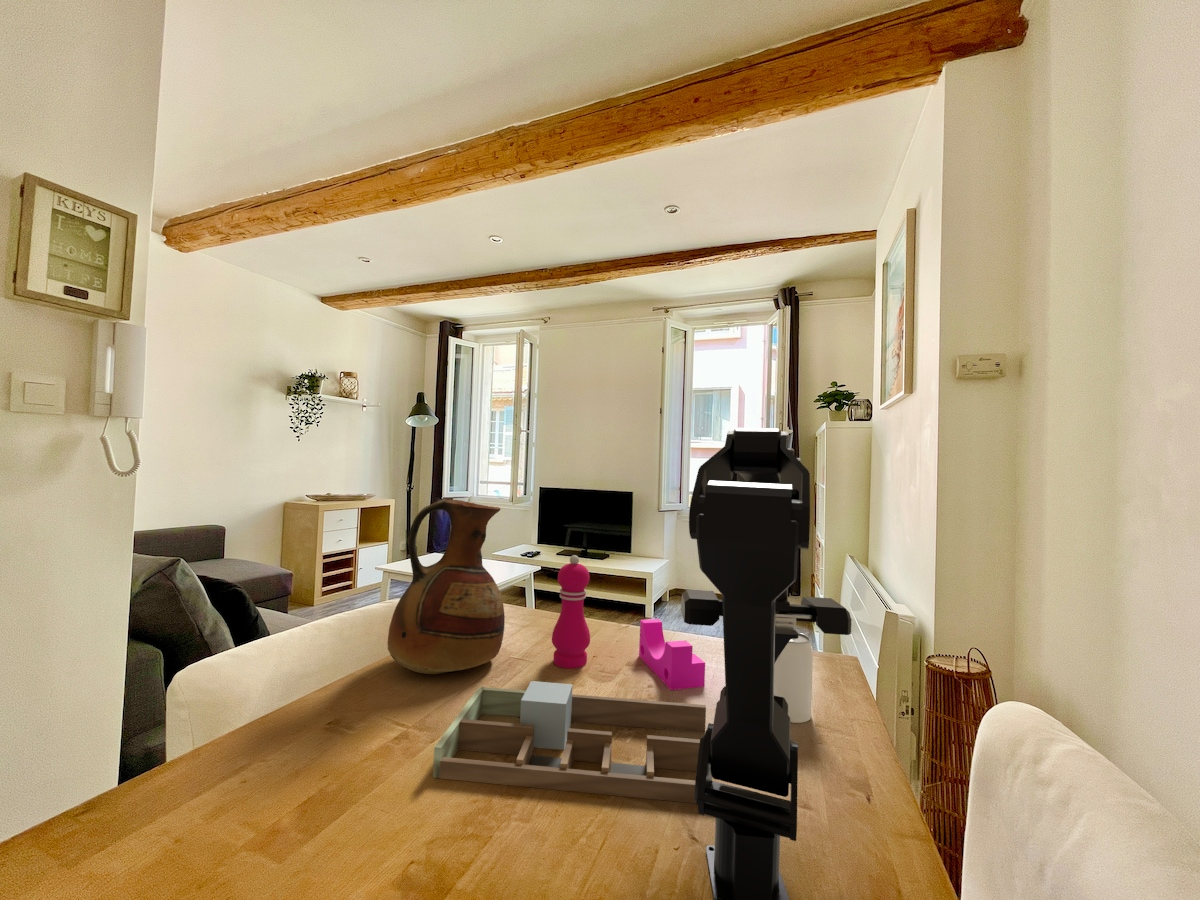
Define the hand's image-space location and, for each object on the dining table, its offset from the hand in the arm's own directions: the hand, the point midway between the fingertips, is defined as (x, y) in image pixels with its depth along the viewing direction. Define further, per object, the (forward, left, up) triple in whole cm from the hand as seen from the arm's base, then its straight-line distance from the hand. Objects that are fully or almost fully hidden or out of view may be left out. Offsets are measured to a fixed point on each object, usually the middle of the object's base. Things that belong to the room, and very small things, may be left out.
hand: (759, 683), depth 60 cm
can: (+19, -9, -12) cm, 24 cm away
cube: (+7, +27, -12) cm, 30 cm away
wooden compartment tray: (+7, +21, -12) cm, 25 cm away
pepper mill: (+33, +27, -12) cm, 44 cm away
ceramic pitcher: (+28, +49, -12) cm, 58 cm away
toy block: (+32, +9, -12) cm, 36 cm away
